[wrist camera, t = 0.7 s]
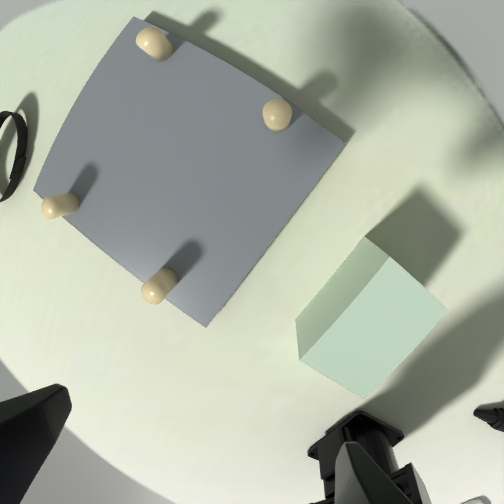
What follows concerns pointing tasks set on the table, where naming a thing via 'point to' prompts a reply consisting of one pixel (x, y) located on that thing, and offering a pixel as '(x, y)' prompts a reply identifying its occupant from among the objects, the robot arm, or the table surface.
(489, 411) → the microphone
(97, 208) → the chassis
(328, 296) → the board block
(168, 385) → the table surface
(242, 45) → the table surface
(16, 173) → the watch
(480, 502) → the record player
